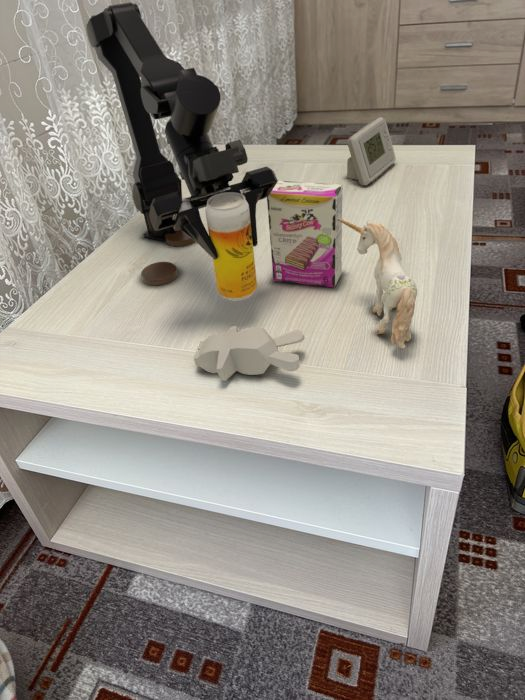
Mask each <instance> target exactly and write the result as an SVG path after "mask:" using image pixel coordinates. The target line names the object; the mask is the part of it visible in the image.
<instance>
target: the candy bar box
mask: <svg viewBox="0 0 525 700" xmlns="http://www.w3.org/2000/svg"><path fill="white" fill-rule="evenodd" d="M266 204H267V215H268V218H267V219H268V227H269V228H268V229H269V242H270V253H271V256H270V257H271V267H272V278H273V282H283V283H290V284H300V285H308V286H317V287H325V288H334V289H335V288H336V286H337V283H338V281H339V280H340V278H341V275H342V255H343V253H342V251H343V250H342V249H343V248H342V247H343V245H342V244H343V242H342V241H343V240H342V238H343V223H342V222H340V221H338V220H337V219H336V218H340V219H342V220H343V184H338V183H336V184H335V183H321V182H320V183H319V182H317V183H316V182H306V181H305V182H303V181H291V180H290V181H289V180H278V182H277V183H276V185H275V187H274V188H273V190H272V191H271V193H270V194H269V196H268V197H266Z"/></svg>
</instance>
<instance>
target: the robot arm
mask: <svg viewBox="0 0 525 700" xmlns="http://www.w3.org/2000/svg"><path fill="white" fill-rule="evenodd" d="M85 27H86V34H87V37H88V42H89V43H90V46H91V47H92V48H94V50H95V52H96V56H97V58H98V60H99V61H100V62H101V63H102V64H103V65H104V66H105V68H106V69H107V70H108V71H109V72H110V73H111V74H112V78H113V82H114V84H115V88H116V92H117V95H118V100H119V102H120V105H121V109H122V112H123V115H124V119H125V123H126V125H127V129H128V132H129V136H130V140H131V143H132V146H133V150H134V153H135V157H136V159H135V162H134V167H133V171H132V177H133V180H134V182H133V186H132V193H131V194H132V195H131V196H132V200H133V203H134V206H135V208H136V209H137V211H139V213H141V215H143V217H144V222H145V226H146V230H147V231H146V232H144V233H143V234H142V236H143V238H147V239H152V240H157V241H161V242H166V239H165V234H166V233H170V234H171V233H176V232H177V231H178V230H182V231H183V232H184V233H185V234H187V235H188V236H189V237H191V238H192V239H193V240H194V241H195V242H196V244H197V245H199V246H200V247H201V248H202V249H203V250H204V251H205V252H206V253H207V254H208V255H209V256H210V257H211V258H212V260H213V259H214V260H215V259H217V258H218V255H217V252H216V249H215V247H214V244H213V243H212V241H211V239H210V237H209V232H208V230H207V229H206V227H205V225H204V223H203V221H202V217H201V214H200V209H204V208H206V206H207V201H208V199H209V198H210V197H212V196H214V195H216V194H220V193H225V192H235V193H240V194H242V195H244V197H245V200H246V201H247V203H248V204H249V212H250V222H251V231H252V241H253V248H254V247H257V246H258V227H257V203H258V202H259V201H261V200H264V199H267V197H268V196H269V194H270V193H271V191H272V190H273V188H274V187H275V185H276V183H277V182H278V181H279V180H278V177H277V176H276V173H275V171H274V170H273V169H272V168H270V167H268V166H263V167H259V168H256V169H251V170H248V171H246V172H245V174H244V176H243V177H242V180H241V182H240V181H239V182H237V183H234V184H230V182H232V181H233V180H234V174H237V173H239V172H240V169H239V167H240V166H243V165H245V164H247V163H248V160H249V159H248V154H247V151H246V148H245V146H244V144H243V142H242V140H241V139H237V140H233V141H230V142H227V143H226V144H225V145H224V146H225V149H224V150H219V148H218V146H213V142H212V141H211V139H210V136H209V134H208V133H209V132H210V131H211V129H212V127H213V125H214V121H215V118H216V115H217V112H218V109H219V106H220V103H221V92H220V89H219V87H218V86H217V85H216V84H215V83H214V82H213V81H212V80H211V79H209V78H208V77H206V76H203V75H200V74H197V71H196V69H195V67H189V68H186V69H185V68H184V66H183V65H182V64H181V62H179V61H176V60H173V59H172V58H168V57H167V56H166V55H165V54H164V51H163V50H162V49H161V47H160V45H159V44H158V42H157V40H156V39H155V37H154V36H153V34H152V33H151V31H150V30H149V28H148V26H147V25H146V23H145V21H144V20H143V18H142V14H141V11H140V7H139V6H138V4H137V3H133V2H131V1H129V2H124V3H118V4H117V3H116V4H110V5H108V7H105V8H104V9H103V11H101V12H100V13H97V14H95V15H94V14H93V15H91V16H90V18H89V19H88V21H87V23H86V26H85ZM152 118H153V119H154V120H162V119H166V118H169V119H168V121H167V122H166V124H165V126H164V127H165V128H164V134H165V137H166V138H165V139H166V143H167V144H168V145H169V146H170V149H171V151H172V154H173V157H174V158H175V161H176V163H177V165H178V168H179V175H178V173H177V172H176V170H175V167H174V164H173V162H172V161H171V160H169V159H168V158H167V157H166V156H165V155H164V154H163V153H162V152H161V149H160V145H159V142H158V139H157V135H156V130H155V128H154V123H153V120H152ZM238 166H239V167H238ZM179 176H180V177H179ZM183 180H184V182H185V185H186V188H187V190H188V192H189V194H190V196H188V197H183V189H182V187H183V186H182V181H183Z"/></svg>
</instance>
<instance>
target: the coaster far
mask: <svg viewBox="0 0 525 700" xmlns="http://www.w3.org/2000/svg"><path fill="white" fill-rule="evenodd" d="M165 239H166V241H165V242H166V244H167V245H168V246H170V247H176V248H177V247H178V248H179V247H185V246H189V245H192V244H193V243H195V242H196V241H194V240H193V239H192V238H191V237H189V236H188V235H187V234H185V233H184V232H183V231H182V230H178V231H177V232H176V233H171V234H170V233H166V234H165Z"/></svg>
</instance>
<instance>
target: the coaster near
mask: <svg viewBox="0 0 525 700" xmlns="http://www.w3.org/2000/svg"><path fill="white" fill-rule="evenodd" d="M140 276H141V279H142V282H143V283H144V284H145V285H147V286H154V287H157V286H163V285H167V284H170V283H171V282H173V281H174V280H176V278H177V277H178V269H177V266H176V264H175V263H172V262H170V261H158V262H154V263H151V264H149V265H147V266H145V267H144V268H143V269H142V270H141V273H140Z"/></svg>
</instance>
